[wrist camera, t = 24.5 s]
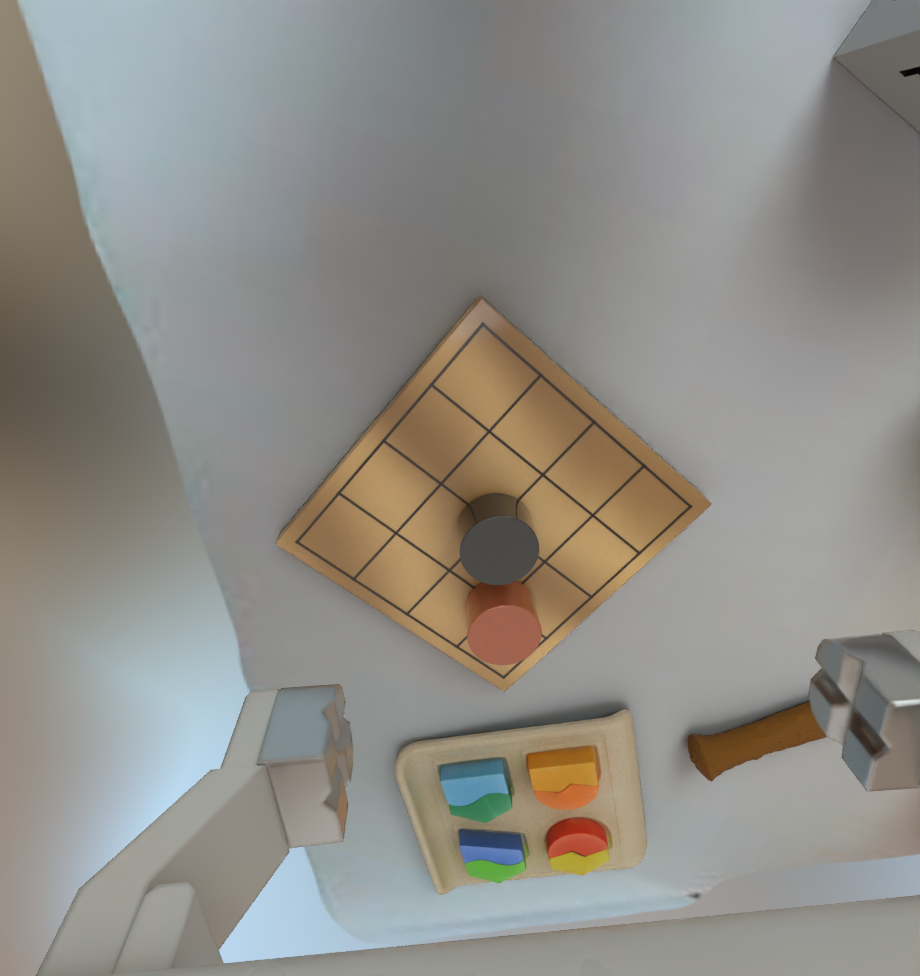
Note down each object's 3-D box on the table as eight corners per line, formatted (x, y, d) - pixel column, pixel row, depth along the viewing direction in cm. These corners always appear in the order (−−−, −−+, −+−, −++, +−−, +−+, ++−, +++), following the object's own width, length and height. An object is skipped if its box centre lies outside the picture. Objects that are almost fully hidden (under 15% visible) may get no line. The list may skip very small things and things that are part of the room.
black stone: (491, 478, 40) (496, 501, 37) (546, 521, 41) (555, 546, 38) (441, 530, 41) (443, 556, 38) (496, 570, 43) (502, 598, 40)
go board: (479, 295, 36) (481, 298, 35) (704, 496, 43) (712, 505, 41) (278, 534, 42) (274, 544, 41) (502, 680, 48) (504, 692, 47)
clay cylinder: (462, 580, 43) (464, 609, 40) (533, 574, 43) (541, 602, 40) (466, 638, 45) (470, 669, 42) (535, 631, 45) (542, 662, 42)
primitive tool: (922, 654, 49) (956, 687, 46) (925, 704, 52) (957, 738, 49) (679, 726, 51) (695, 762, 48) (691, 771, 54) (708, 808, 51)
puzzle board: (391, 743, 51) (388, 779, 47) (628, 697, 50) (642, 731, 47) (438, 881, 58) (439, 920, 55) (646, 843, 57) (658, 881, 54)
